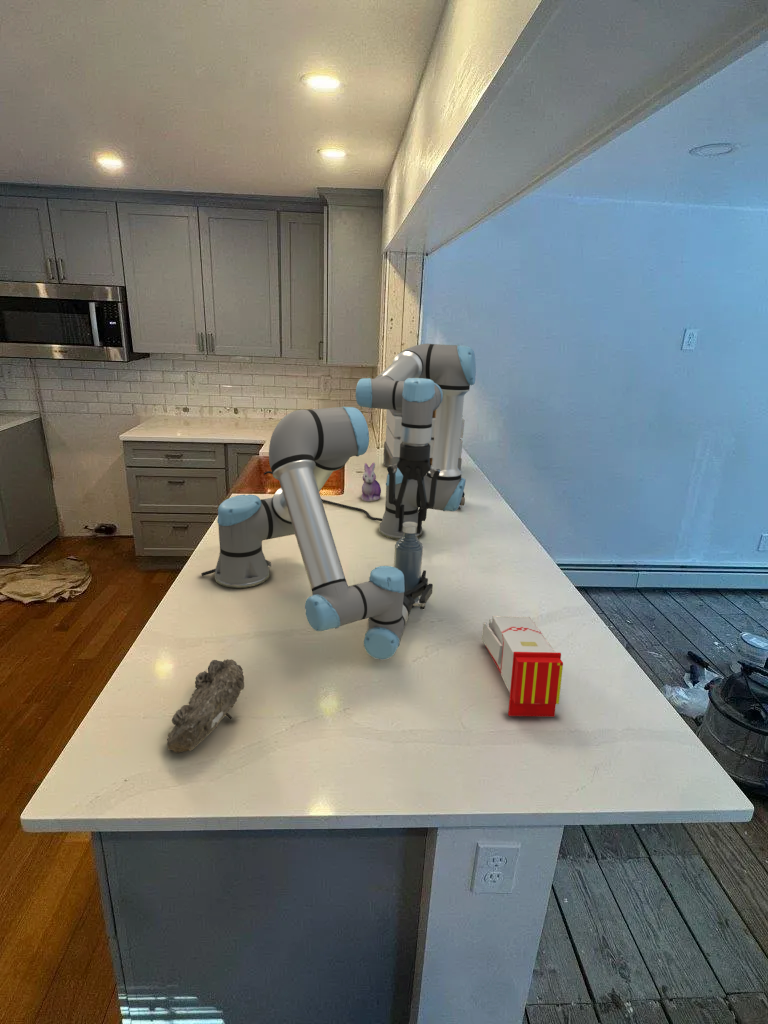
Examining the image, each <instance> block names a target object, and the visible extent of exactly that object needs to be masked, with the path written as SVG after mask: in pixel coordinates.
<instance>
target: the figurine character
mask: <svg viewBox="0 0 768 1024" xmlns="http://www.w3.org/2000/svg"><path fill="white" fill-rule="evenodd" d="M465 503H466V498H465V490H464V491H463V495H462V499H461V502H460V505H459V507H458V509H457V510H462V509H461V507H464V506H465V505H466V504H465Z"/></svg>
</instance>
